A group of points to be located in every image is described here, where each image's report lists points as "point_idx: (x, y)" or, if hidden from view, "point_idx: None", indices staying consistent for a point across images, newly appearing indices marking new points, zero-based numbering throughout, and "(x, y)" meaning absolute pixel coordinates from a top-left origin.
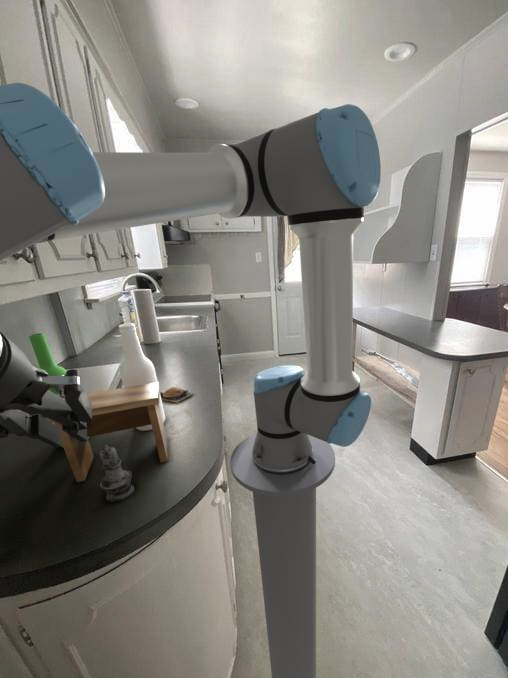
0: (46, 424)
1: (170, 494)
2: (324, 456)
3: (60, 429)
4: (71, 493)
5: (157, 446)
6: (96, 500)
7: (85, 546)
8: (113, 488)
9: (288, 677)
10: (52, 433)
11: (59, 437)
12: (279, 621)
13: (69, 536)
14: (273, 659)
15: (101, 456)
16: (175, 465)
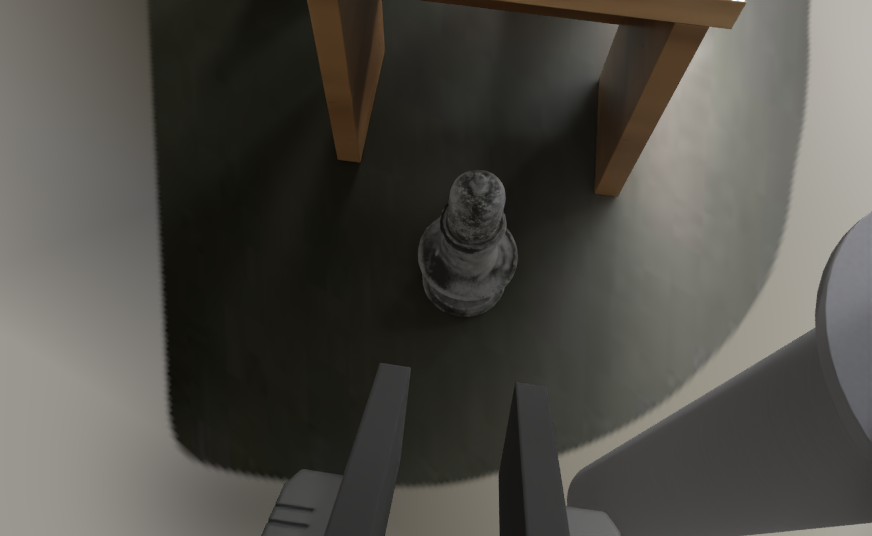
0: (379, 525)
1: (619, 375)
2: None
3: (409, 378)
4: (322, 204)
5: (615, 155)
6: (393, 277)
7: None
8: (458, 299)
9: None
10: (388, 494)
11: (401, 435)
12: (659, 513)
13: (320, 398)
14: (598, 501)
15: (455, 210)
16: (642, 234)
